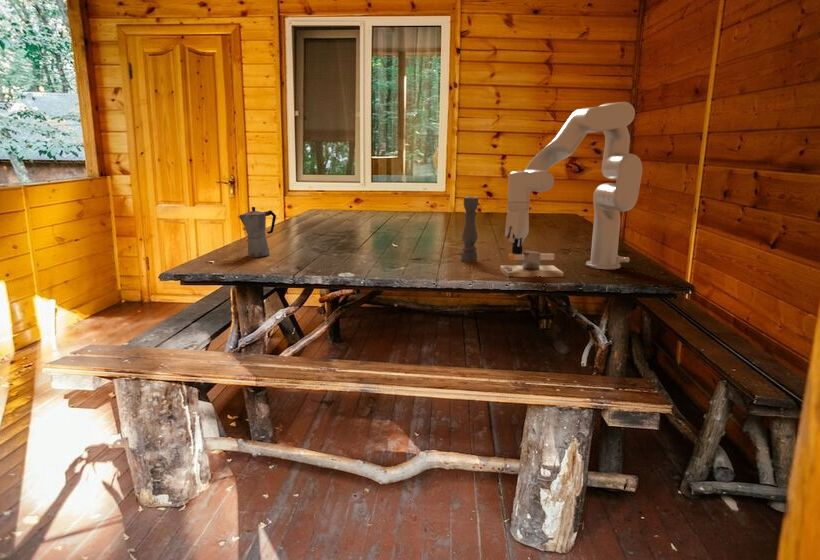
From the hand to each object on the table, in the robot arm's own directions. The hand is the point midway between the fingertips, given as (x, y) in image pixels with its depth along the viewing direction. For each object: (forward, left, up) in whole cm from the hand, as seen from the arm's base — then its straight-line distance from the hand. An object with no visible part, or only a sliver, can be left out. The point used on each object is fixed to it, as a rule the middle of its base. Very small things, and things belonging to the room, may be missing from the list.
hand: (517, 256), depth 205 cm
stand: (-5, +3, -6) cm, 8 cm away
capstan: (-5, +3, -4) cm, 7 cm away
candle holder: (+14, -20, -6) cm, 25 cm away
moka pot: (+99, -31, -6) cm, 104 cm away
